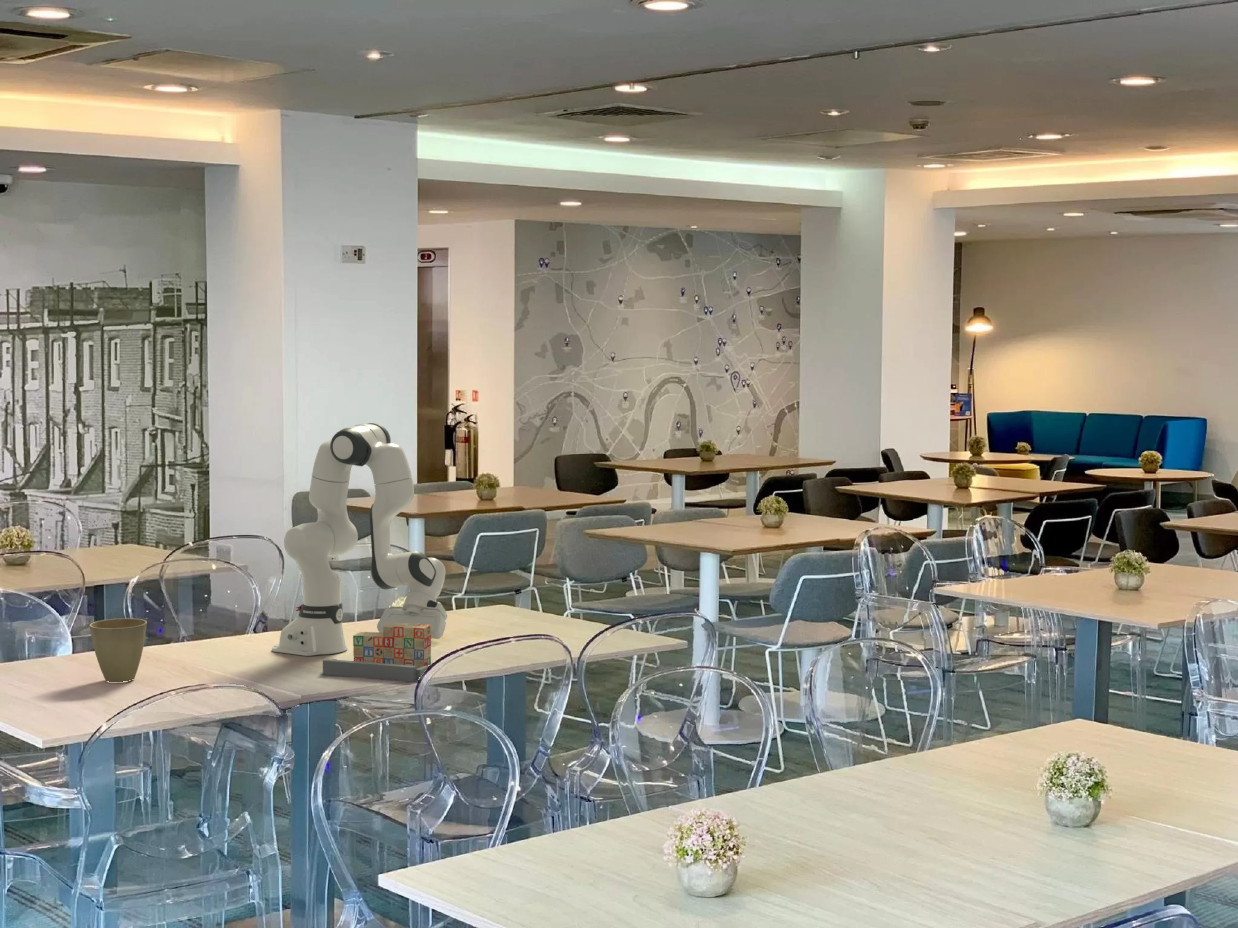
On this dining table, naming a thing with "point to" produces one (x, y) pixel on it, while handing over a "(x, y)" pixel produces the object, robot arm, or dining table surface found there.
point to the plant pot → (118, 647)
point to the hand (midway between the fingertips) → (402, 647)
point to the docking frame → (372, 670)
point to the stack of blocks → (395, 645)
